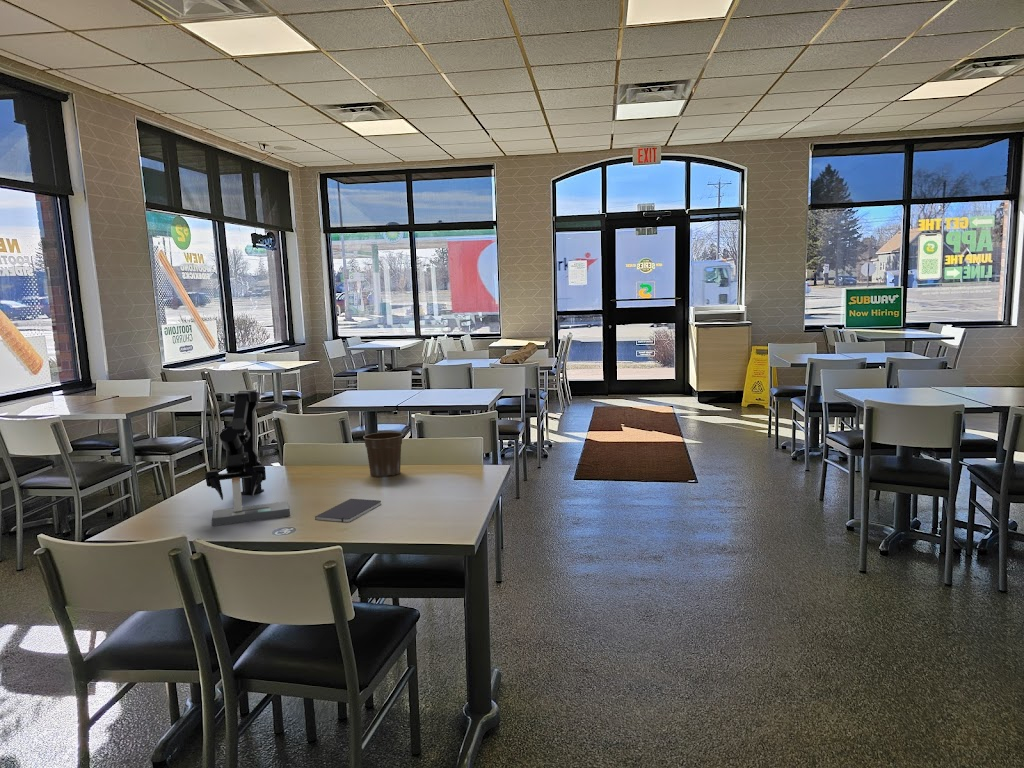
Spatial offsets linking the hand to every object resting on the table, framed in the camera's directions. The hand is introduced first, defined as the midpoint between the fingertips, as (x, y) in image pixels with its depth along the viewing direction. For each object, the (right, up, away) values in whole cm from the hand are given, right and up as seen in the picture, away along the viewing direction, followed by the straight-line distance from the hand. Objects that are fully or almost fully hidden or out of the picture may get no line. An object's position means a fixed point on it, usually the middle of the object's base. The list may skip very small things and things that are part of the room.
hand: (237, 497), depth 231 cm
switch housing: (+4, -7, +3) cm, 8 cm away
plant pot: (+39, 0, +57) cm, 68 cm away
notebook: (+36, -6, +5) cm, 37 cm away
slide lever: (0, -4, +2) cm, 5 cm away
